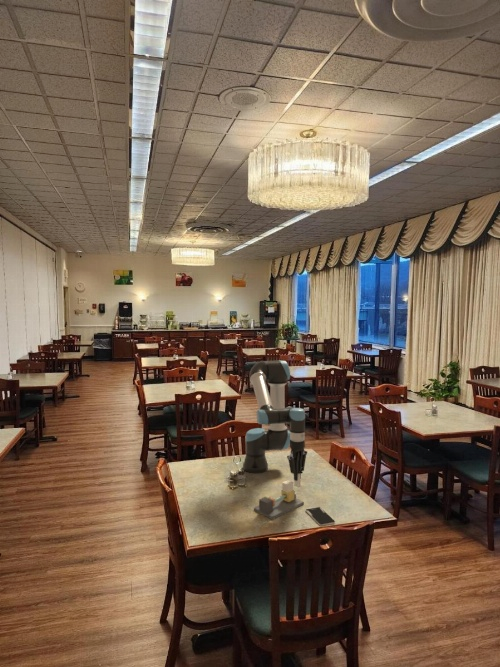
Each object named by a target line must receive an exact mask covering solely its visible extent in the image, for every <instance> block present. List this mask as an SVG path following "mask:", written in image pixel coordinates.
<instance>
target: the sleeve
mask: <svg viewBox="0 0 500 667" xmlns="http://www.w3.org/2000/svg"><path fill="white" fill-rule="evenodd" d="M281 485H282V486H281V487H282V488H281V496H283V495H285V494H286V495H287V497H286V498H283V499H282V500H285V501H287V502H290V501H292V500H294V491H295V490H294V481H291V480H289V479H288V480H285V481H282V482H281Z"/></svg>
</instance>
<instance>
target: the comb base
mask: <svg viewBox="0 0 500 667" xmlns="http://www.w3.org/2000/svg"><path fill="white" fill-rule="evenodd" d="M286 497H287V495H286V494H285V495H283V496H282V495H280V496H278V497H275V498H272V497H271V496H269V497H266V496H264V497H262V498H259V499H258V505H257V506H255V507H253V510H254V511H255V512H257V513H259V514H260V515H262V516H265V517H267V518H269V519H270V520H274V519H276V518H278V517H280V516H282V515H285V514H286V513H289V512H290V511H293V510H295V509H297V508H299V507H301V506H303V505H304V504H305V502H304V501H303V500H301V499H298V498H297V494H296V492H295V490H294V500H292V501H290V502H287V501H285V500H282V499H283V498H286Z"/></svg>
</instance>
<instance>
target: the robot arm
mask: <svg viewBox="0 0 500 667" xmlns="http://www.w3.org/2000/svg"><path fill="white" fill-rule="evenodd" d="M290 379H291V369H290V367H289V363H288V362H287V361H286V360H280V359H279V360H261V361H259V362H256V363H255V364H254V365H253V366H252V367H251V369H250V371H249V382H250V384H251V385H252V386H253V391H254V395H255V399H256V403H257V406H258V410H257V411H256V422H257V424H258V425H265V426H266V425H269V426H267V430H266V429H265V428H262V427H257V428H251V429H249V430H248V431H246V433H245V440H244V441H245V457H244V462H243V464H242V469H243V471H244V472H247V473H252V474H259V473H264V472H266V471H268V469H269V463H268V460H267V457H266V452H268V451H270V452H271V451H272V452H273V451H282V450H287V449H288V448H289V447H290V454H289V455H287V456H286V458H287V460H288V466H289V470H290V474H293V487H294V486H295V487H297V488H300V487H301V478H302V474H303V473H304V471H305V465H306V458H307V456H308V455H307V454H308V451H307V450H305V448H306V441H305V438H306V436H305V435H306V433H305V432H306V411H305V409H304V408H301V407H293V406H287V407H286V406H285V400H286V398H285V395H286V394H285V392H286V391H285V386H286V385H287V383H288V381H289V380H290ZM266 381H267V382H266ZM267 384H268V385H269V388H270V389H269V388H268V385H267ZM268 389H269V390H268ZM269 391H270V392H269ZM286 424H289V429H288V427H287V426H286Z"/></svg>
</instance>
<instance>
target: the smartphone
mask: <svg viewBox="0 0 500 667" xmlns="http://www.w3.org/2000/svg"><path fill="white" fill-rule="evenodd" d="M305 512H306V514H308V515H309V517H310V518H311V519H312V520H313V521H314V522H316V524H318V526H320V527H325V526H328V525H334V524H336V521H335V519H333V518H332V517H331V516H330V515H329V514H328V513H327V512H326V511H325V510H324V509H323V508H321V506H315V507H308V508H305Z"/></svg>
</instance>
